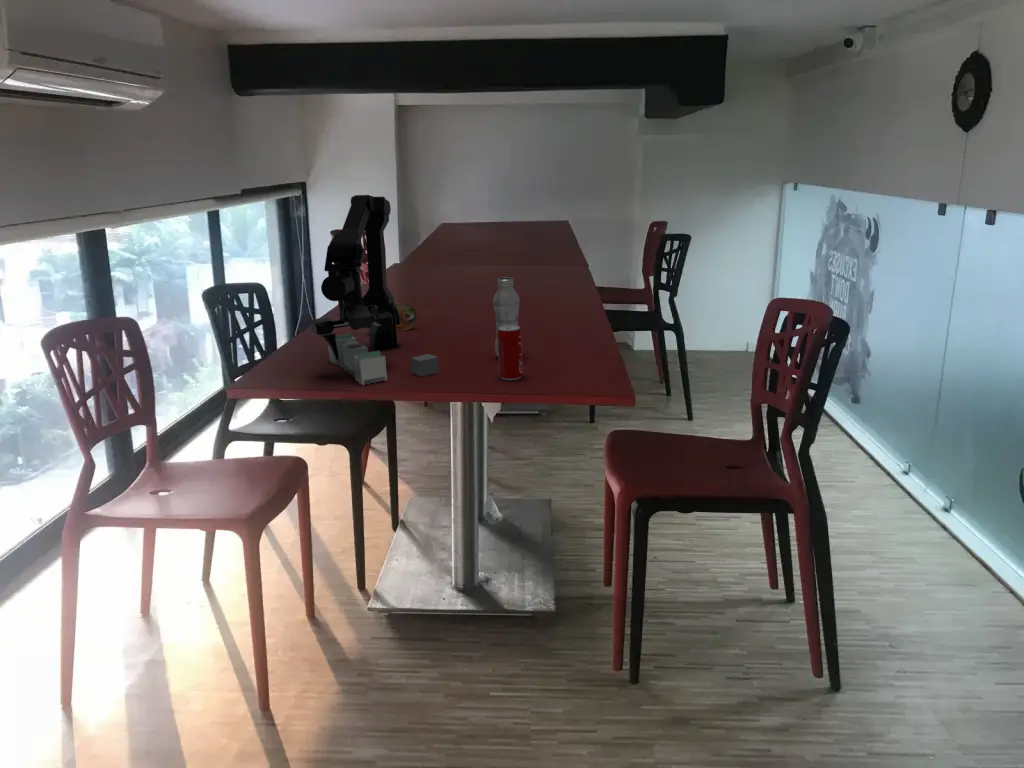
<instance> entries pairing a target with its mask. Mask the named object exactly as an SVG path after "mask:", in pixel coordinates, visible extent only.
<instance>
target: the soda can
mask: <svg viewBox="0 0 1024 768" xmlns="http://www.w3.org/2000/svg"><path fill="white" fill-rule="evenodd" d="M497 340H498V356H497V359H498V363H497V364H498V376H499V378H500V379H501V380H504V381H517V380H520V379H521V378H522V377H523V375H524V374H523V373H524V372H523V345H522V343H523V342H522V330H521V327H520V325H518V326H515V325H506V326H501V327H499V328H498V333H497Z"/></svg>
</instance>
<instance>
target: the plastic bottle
mask: <svg viewBox="0 0 1024 768" xmlns="http://www.w3.org/2000/svg"><path fill="white" fill-rule="evenodd" d="M497 282H498V283H497V287H498V289H497V291H496V293H495V294H494V296H493V299H492V302H493V308H494V315H495V322H496V323H495V324H496V325H495V326H496V327H495V328H496V329H495V342H494V352H495V355H496V356H497V357H498V340H497V333H498V328H499V327H501V326H506V325H515V326H519V321H518V320H519V310H520V301H521V298H520V296H519V294H518V293H517V291H516V290H515V289H514V287H513V286H514V278H513V277H510V276H509V277H508V276H507V277H498V278H497Z"/></svg>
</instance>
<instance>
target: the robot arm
mask: <svg viewBox="0 0 1024 768" xmlns="http://www.w3.org/2000/svg"><path fill="white" fill-rule="evenodd" d="M391 210H392V209H391V202H390V201H389V200H388V199H386V197H385V196H373V195H370V194H355V195H354V196H353V195H352V196H351V197H350V207H349V209H348V213H347V214H346V215H347V216H346V218H345V220H344V223H343V226H342V228H341V231H339V232H338V233H336V234H334V235H333V236H332V239H331V240H330V241H329V244H328V246H327V249H326V256H325V262H324V267H323V268H324V269H323V270H324V272H327V273H328V274H327V277H325V278H324V279H323V281H322V283H321V285H320V288H321V292H322V295H323V297H325V298H326V299H327V300H328V301H331V302H337V304H338V305H337V306H338V318H339V319H334V320H332V319H330V318H329V317H319V318H313V319H312V320H311V322H310V329H311V331H312V332H313V333H314V334H316V335H319V336H320V337H321V338H324V340H325V341H326V342H327V345H328V344H329V346H330V348H331V350H332V352H333V354H334V356H335V358H336V360H339V358H338V350H337V345H336V340H335V338H336V336H337V335H336V333H335V332H334V330H335V329H340V328H346V327H350V328H351V330H353V331H357V330H360V329H368V328H370V330H369V329H368V339H369V346H370V347H371V352H373V351H380V350H386V349H392V348H398V347H400V344H399V343H398V336H397V335H398V334H397V332H396V325H398V324H400V314H399V311H398V309H397V307H396V305H395V303H396V302H395V301H394V294H392V292H391V291H390V290H389V288H388V285H387V283H388V282H387V272H386V271H387V269H386V268H387V267H386V266H387V265H386V254H385V253H386V252H385V237H384V236H385V235H384V233H385V232H384V231H385V230H386V227H387V226H388V224H389V222H390V215H391ZM364 232H365V242H366V260H367V261H366V262H367V275H368V289H367V291H366V293H365V294H364V295H363V291H362V281H361V273H360V271H361V269H362V268H361V267H362V266H363V262H364V257H365V249H364V247H363V244H362V237H363V235H364Z"/></svg>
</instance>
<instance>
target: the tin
mask: <svg viewBox="0 0 1024 768" xmlns="http://www.w3.org/2000/svg"><path fill="white" fill-rule="evenodd" d="M394 303H395V305H396V307H397V309H398V311H399V314H400V324H398V325H396V333H399V332H398V331H401V332H406V330H407V331H409V330H410V329H412V328H413V327H414V326H415V325H416V322H417V312H416V310H415V308H414V306H412V305H411V304H409V303H408V302H407V303H406V302H394ZM367 329H368V331H369V330H370V328H367Z"/></svg>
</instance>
